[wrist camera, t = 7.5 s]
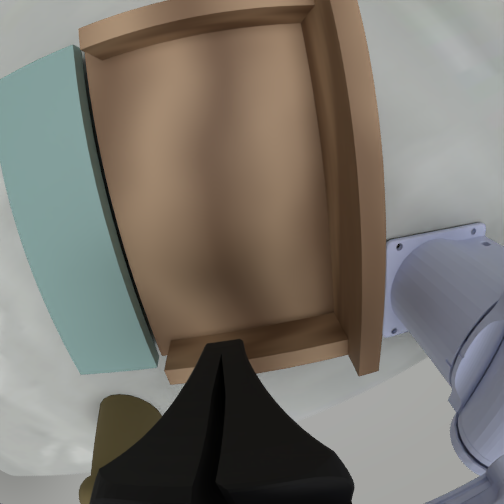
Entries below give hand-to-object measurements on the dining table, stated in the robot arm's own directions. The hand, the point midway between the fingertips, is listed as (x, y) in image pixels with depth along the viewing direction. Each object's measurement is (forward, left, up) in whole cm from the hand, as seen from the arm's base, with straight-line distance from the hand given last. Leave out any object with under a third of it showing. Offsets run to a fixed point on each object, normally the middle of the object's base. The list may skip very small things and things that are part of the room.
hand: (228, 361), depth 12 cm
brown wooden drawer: (-1, -5, -9) cm, 10 cm away
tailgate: (+6, -5, -8) cm, 11 cm away
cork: (+12, +13, -10) cm, 20 cm away
